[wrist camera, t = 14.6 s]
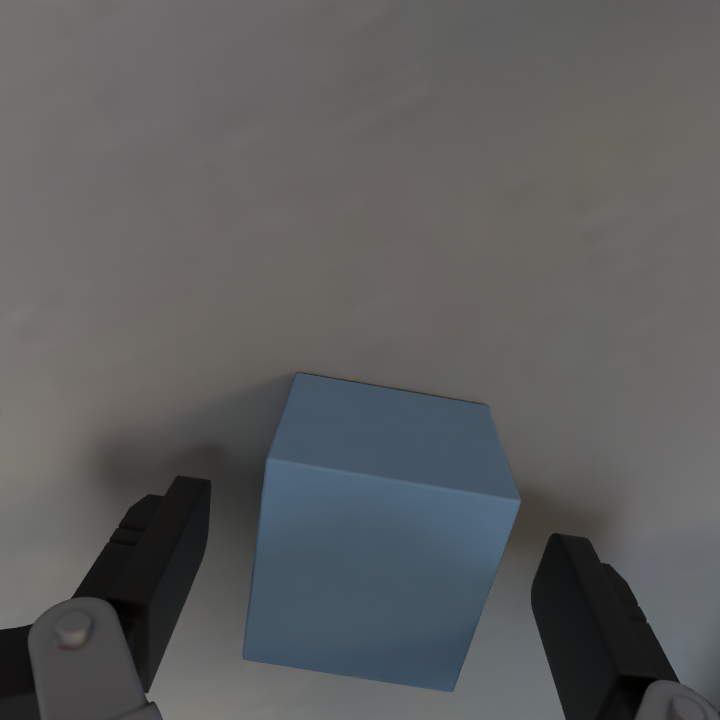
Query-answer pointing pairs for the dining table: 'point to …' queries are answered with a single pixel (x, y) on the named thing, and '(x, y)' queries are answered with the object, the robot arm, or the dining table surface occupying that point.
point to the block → (377, 533)
